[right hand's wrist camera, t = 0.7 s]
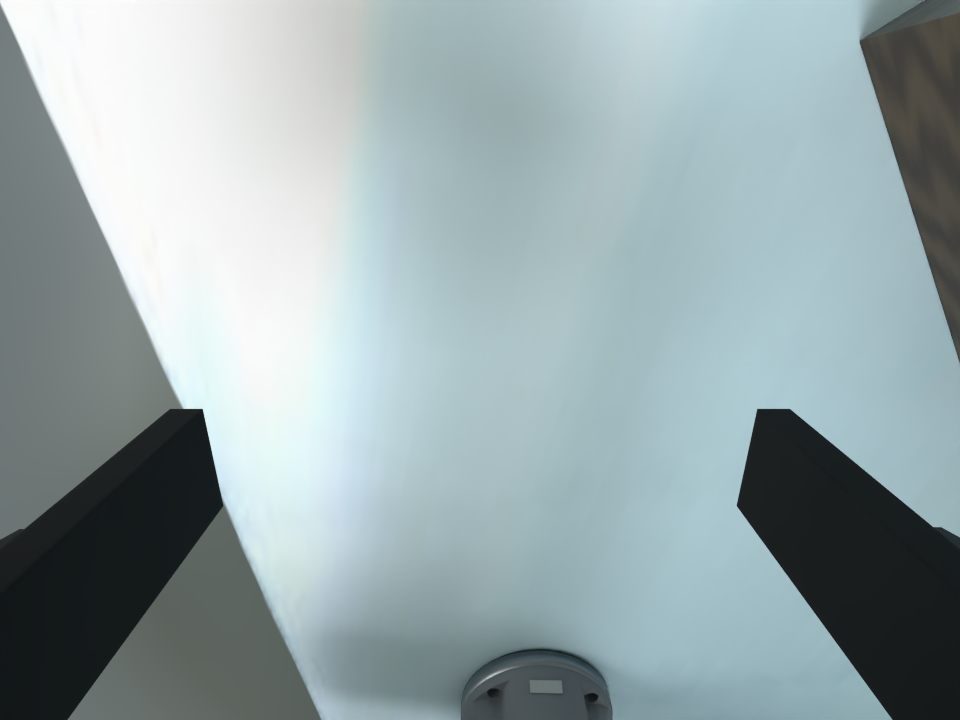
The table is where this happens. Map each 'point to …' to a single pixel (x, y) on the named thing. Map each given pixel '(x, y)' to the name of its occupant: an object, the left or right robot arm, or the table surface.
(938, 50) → the bar
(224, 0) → the table surface
